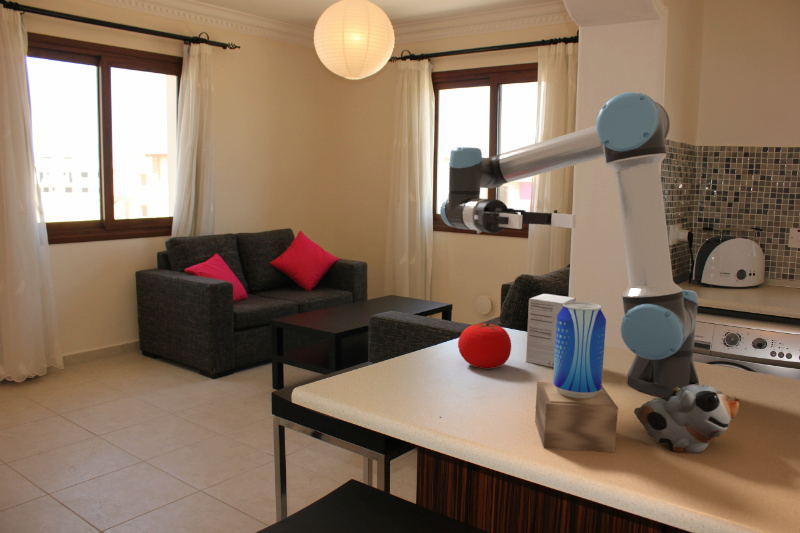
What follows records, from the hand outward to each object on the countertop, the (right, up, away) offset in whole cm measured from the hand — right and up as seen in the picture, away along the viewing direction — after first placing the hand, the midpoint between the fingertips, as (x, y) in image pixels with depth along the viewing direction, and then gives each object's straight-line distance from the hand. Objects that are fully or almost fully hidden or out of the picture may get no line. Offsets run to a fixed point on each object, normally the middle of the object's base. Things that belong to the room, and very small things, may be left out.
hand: (548, 221), depth 123 cm
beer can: (+2, -32, -11) cm, 34 cm away
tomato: (-8, -34, +32) cm, 48 cm away
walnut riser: (+2, -40, -10) cm, 41 cm away
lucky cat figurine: (+22, -41, -11) cm, 47 cm away
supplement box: (+9, -34, +38) cm, 52 cm away
